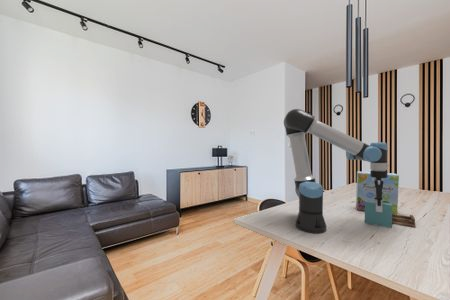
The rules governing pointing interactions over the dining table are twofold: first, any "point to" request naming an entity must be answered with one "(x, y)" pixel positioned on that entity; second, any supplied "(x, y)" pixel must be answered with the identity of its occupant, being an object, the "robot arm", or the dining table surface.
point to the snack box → (368, 190)
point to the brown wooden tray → (403, 220)
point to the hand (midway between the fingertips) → (378, 208)
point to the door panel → (378, 214)
